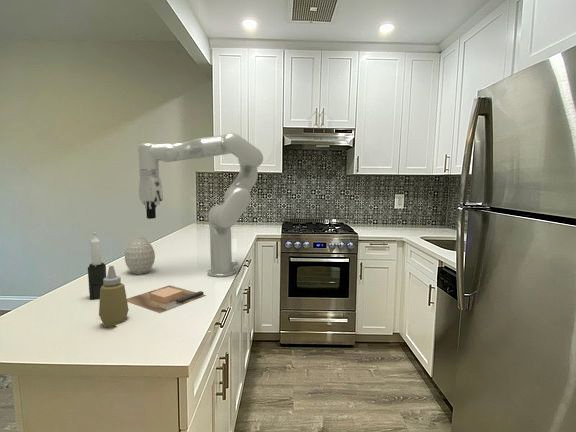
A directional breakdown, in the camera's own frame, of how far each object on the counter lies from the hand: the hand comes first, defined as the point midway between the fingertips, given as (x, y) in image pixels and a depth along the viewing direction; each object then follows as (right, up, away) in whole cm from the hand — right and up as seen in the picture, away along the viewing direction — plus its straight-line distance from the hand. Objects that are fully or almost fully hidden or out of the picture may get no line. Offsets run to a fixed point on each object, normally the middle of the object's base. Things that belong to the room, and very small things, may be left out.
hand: (151, 218), depth 145 cm
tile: (+10, -27, -18) cm, 34 cm away
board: (+13, -30, -20) cm, 38 cm away
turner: (+20, -29, -23) cm, 42 cm away
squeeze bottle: (+4, -32, -39) cm, 51 cm away
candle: (-11, -30, -19) cm, 37 cm away
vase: (-11, -26, +17) cm, 33 cm away
